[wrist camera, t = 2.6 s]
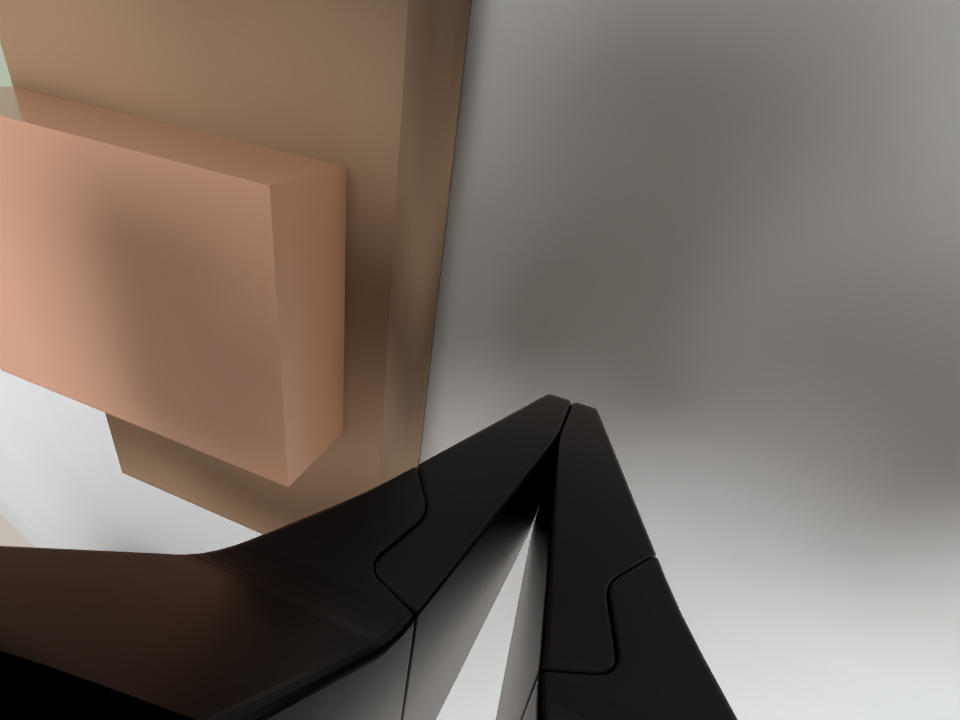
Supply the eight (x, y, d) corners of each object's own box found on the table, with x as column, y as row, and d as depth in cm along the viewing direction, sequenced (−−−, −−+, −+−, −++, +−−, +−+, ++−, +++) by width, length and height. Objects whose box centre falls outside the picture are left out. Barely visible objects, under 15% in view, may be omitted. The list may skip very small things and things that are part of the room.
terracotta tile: (343, 431, 12) (288, 487, 11) (83, 335, 14) (1, 370, 12) (346, 166, 9) (269, 185, 7) (12, 86, 11) (-110, 87, 9)
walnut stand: (412, 519, 17) (372, 582, 15) (185, 428, 19) (122, 472, 16) (489, -163, 8) (423, -242, 6) (69, -193, 10) (-86, -263, 8)
